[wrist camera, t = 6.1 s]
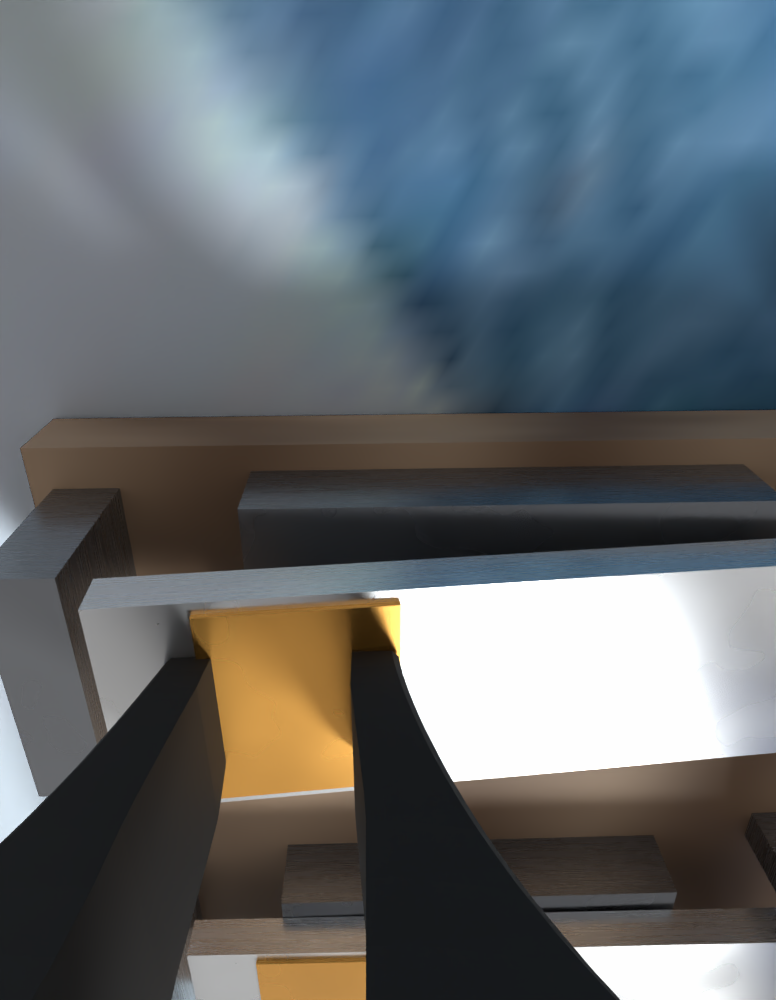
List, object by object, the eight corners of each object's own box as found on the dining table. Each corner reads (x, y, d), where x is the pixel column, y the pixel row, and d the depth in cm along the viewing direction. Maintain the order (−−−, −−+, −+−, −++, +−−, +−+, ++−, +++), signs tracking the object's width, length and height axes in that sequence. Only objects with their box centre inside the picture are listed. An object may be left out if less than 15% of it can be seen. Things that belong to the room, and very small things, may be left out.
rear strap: (822, 902, 16) (848, 945, 16) (780, 1001, 18) (801, 1045, 17) (195, 915, 16) (185, 960, 15) (215, 1014, 18) (207, 1060, 17)
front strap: (980, 523, 12) (1033, 553, 11) (903, 703, 14) (944, 741, 13) (94, 575, 11) (75, 614, 10) (138, 768, 12) (125, 815, 12)
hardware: (954, 425, 13) (1111, 500, 10) (749, 968, 20) (807, 1094, 17) (40, 437, 12) (-50, 518, 10) (171, 985, 20) (141, 1118, 17)
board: (959, 407, 14) (1021, 435, 13) (769, 911, 21) (796, 962, 20) (54, 418, 14) (19, 448, 12) (170, 928, 21) (156, 982, 20)
